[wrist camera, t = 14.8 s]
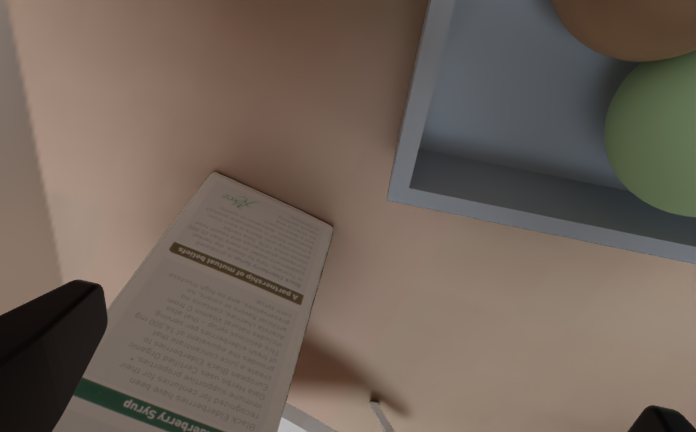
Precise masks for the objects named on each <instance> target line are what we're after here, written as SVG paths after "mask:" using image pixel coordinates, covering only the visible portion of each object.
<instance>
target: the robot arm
mask: <svg viewBox="0 0 696 432" xmlns="http://www.w3.org/2000/svg"><path fill="white" fill-rule="evenodd" d="M107 324H108V316H107V310H106V303H105V297H104V291H103V288H102V287H101V285H99V284H97V283H93V282H88V281H84V280H74V281H71V282H69V283H67V284H65V285H62V286H60V287H58V288H56V289H54V290H52V291H50V292H48V293H46V294H44V295H42V296H40V297H38V298H36V299H34V300H32V301H29V302H27V303H26V304H23V305H21V306H19V307H17V308H15V309H13V310H11V311H9V312H7V313H5V314H2V315H0V432H52V431H53V429H54V428H55V426H56V425H57V423H58V421H59V420H60V418H61V416H62V415H63V413H64V411H65V409H66V407H67V406H68V404H69V402H70V400H71V398H72V396H73V394H74V392H75V390H76V388H77V386H78V384H79V382H80V381H81V379H82V377H83V375H84V373H85V371H86V369H87V367H88V365H89V363H90V361H91V359H92V357H93V355H94V353H95V351H96V349H97V347H98V345H99V343H100V341H101V340H102V338H103V336H104V334H105V331H106V328H107ZM628 432H696V429H695V428H694V427H693V426H692V424H691V423H690V422H689V421H688V420H687V419H686V418H685V417H684V416H683V415H682V414H680V413H679V412H678V411H675V410H672V409H668V408H663V407H659V406H654V405H651V406H649V407H646V408H645V409H644V410H643V412H642V413H641V414H640V416H639V417H638V418H637V420H636V421H635V422H634V424H633V425H632V426H631V428H630V429H629V430H628Z"/></svg>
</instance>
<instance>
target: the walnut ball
mask: <svg viewBox="0 0 696 432" xmlns="http://www.w3.org/2000/svg"><path fill="white" fill-rule="evenodd" d="M551 2H552V4H553V7H554V9H555V12H556V14H557V15H558V17H559V19H560V20H561V22H562V23H563V25H564V27H565V28H566V29H567V30H568V31H569V32H570V34H571V35H572V36H573V37H575V38H576V39H577V40H578V41H579V42H581V43H582V44H583V45H585V46H587V47H588V48H590V49H592V50H593V51H595V52H597V53H600V54H602V55H604V56H608V57H612V58H615V59H620V60H625V61H634V62H648V61H656V60H664V59H670V58H674V57H678V56H681V55H684V54H687V53H690V52H693V51H695V50H696V0H551Z"/></svg>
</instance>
